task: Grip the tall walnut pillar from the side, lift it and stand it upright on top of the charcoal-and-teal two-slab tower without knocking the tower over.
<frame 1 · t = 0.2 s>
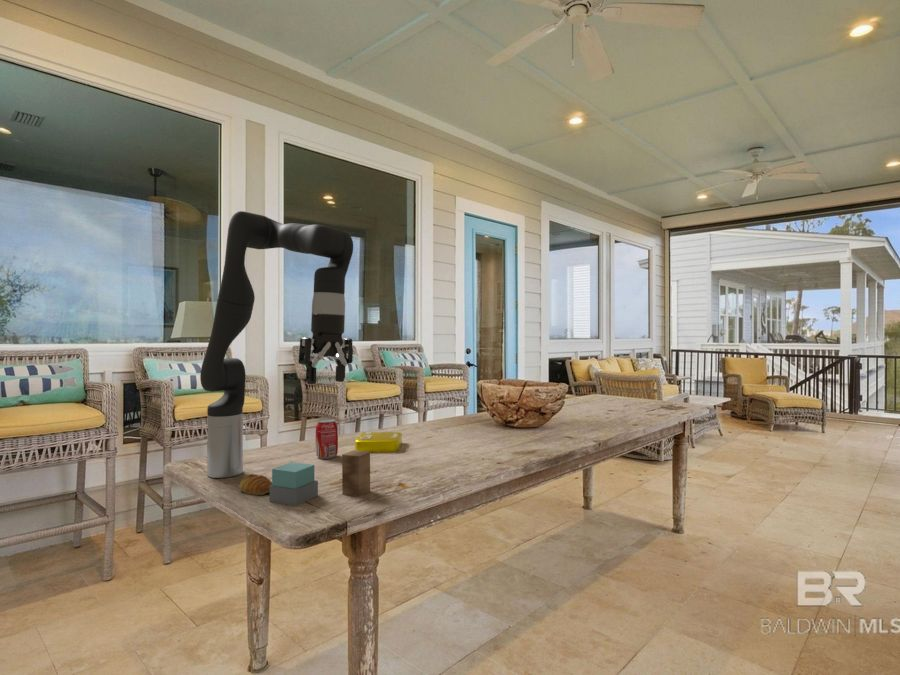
hand: (325, 382, 114), 29 cm above the table, tool pointing down, fingers open, 8 cm apart
tower base slab: (294, 499, 120), on the table
tower top slab: (293, 483, 120), point 4 cm above the table
soda can: (326, 457, 160), on the table
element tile: (379, 449, 174), on the table
walnut pillar: (356, 492, 124), on the table
pastry: (257, 491, 126), on the table
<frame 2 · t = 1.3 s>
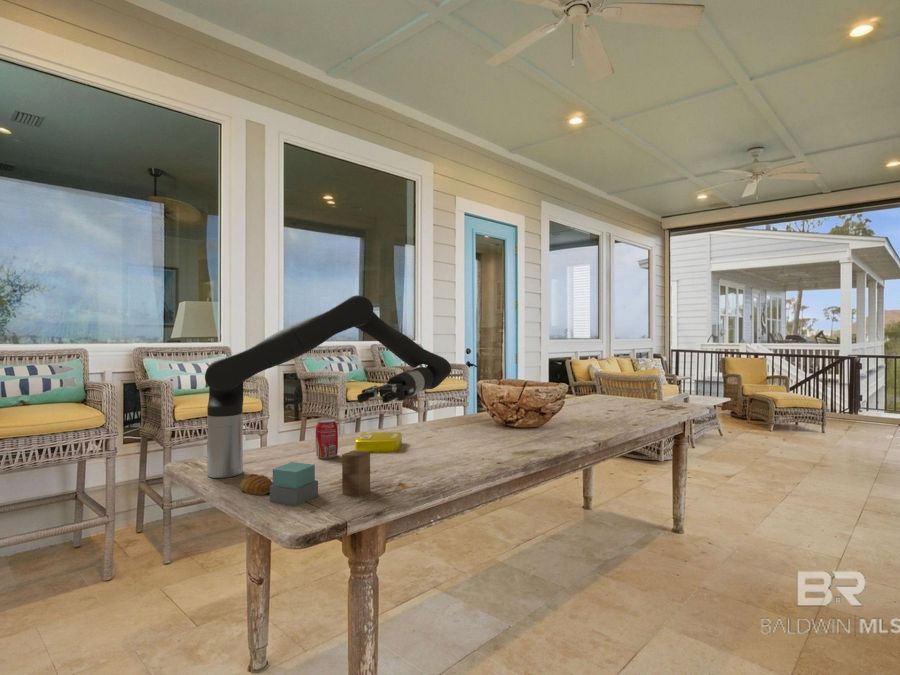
hand: (370, 399, 129), 23 cm above the table, tool horizontal, fingers open, 8 cm apart
tower base slab: (294, 499, 120), on the table, touching tower top slab
tower top slab: (294, 483, 120), point 4 cm above the table, touching tower base slab
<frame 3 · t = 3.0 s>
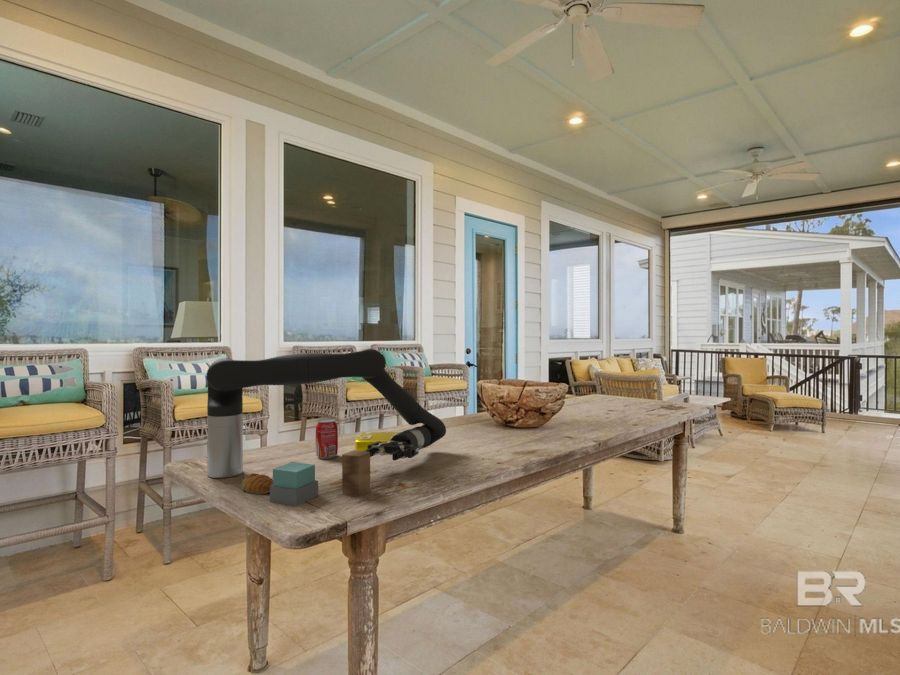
hand: (380, 455, 134), 7 cm above the table, tool horizontal, fingers open, 8 cm apart
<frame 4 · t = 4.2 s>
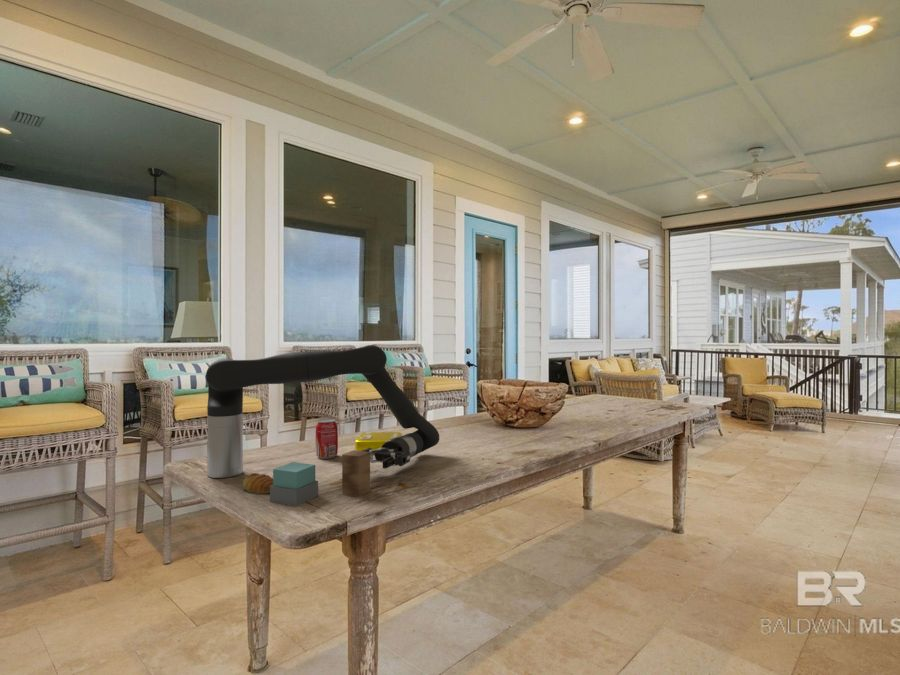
hand: (369, 463, 130), 6 cm above the table, tool horizontal, fingers open, 8 cm apart
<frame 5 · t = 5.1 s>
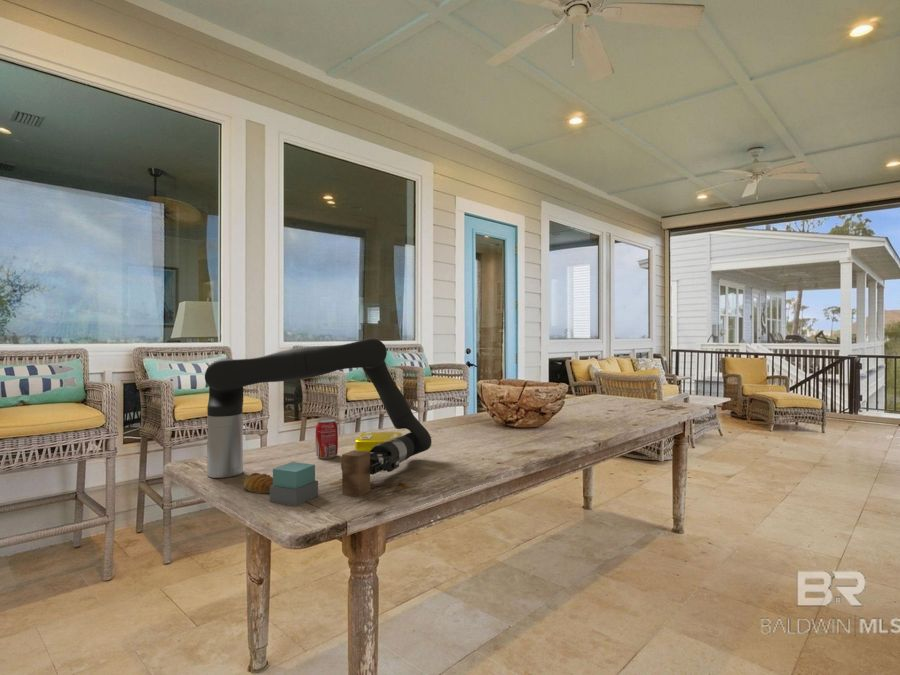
hand: (356, 468, 124), 6 cm above the table, tool horizontal, fingers open, 8 cm apart
tower base slab: (294, 499, 120), on the table
tower top slab: (294, 483, 120), point 4 cm above the table
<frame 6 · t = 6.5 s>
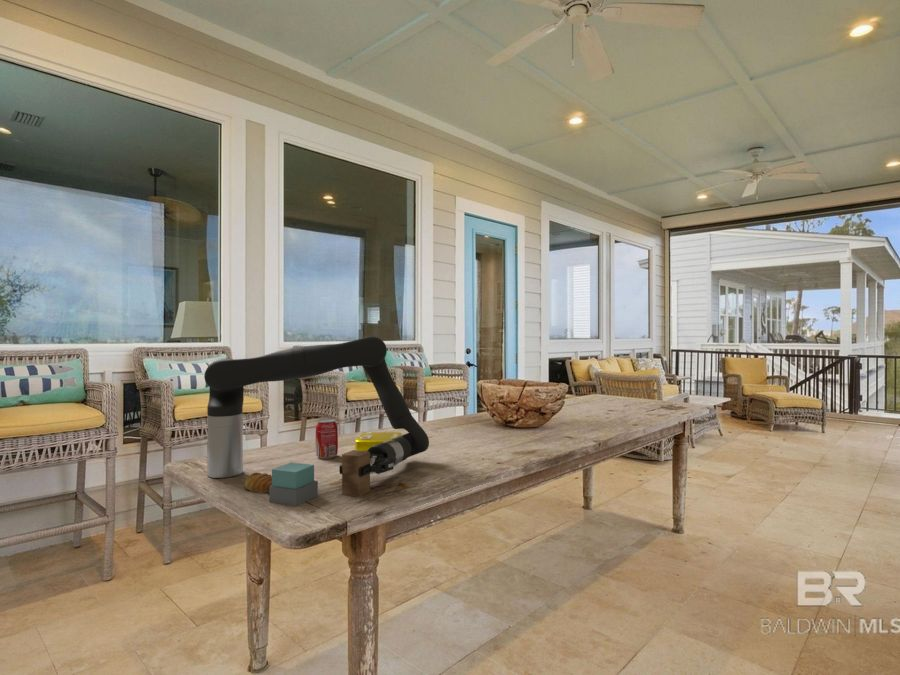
hand: (350, 471, 122), 6 cm above the table, tool horizontal, fingers closed on walnut pillar, 5 cm apart
tower base slab: (294, 499, 120), on the table, touching tower top slab
tower top slab: (293, 483, 120), point 4 cm above the table, touching tower base slab
walnut pillar: (356, 492, 124), on the table, touching gripper
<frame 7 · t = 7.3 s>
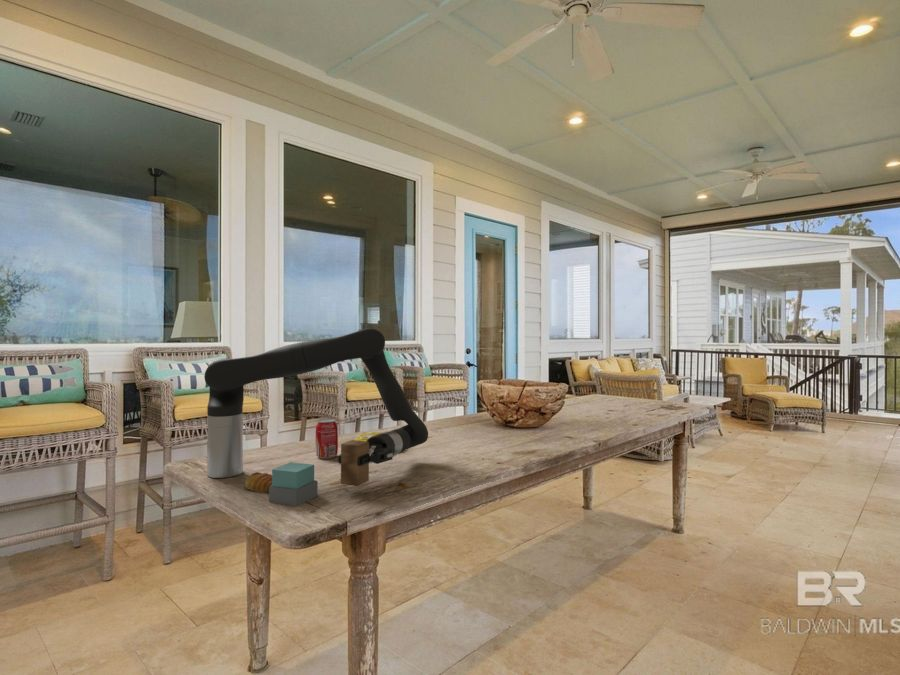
hand: (349, 460, 121), 9 cm above the table, tool horizontal, fingers closed on walnut pillar, 5 cm apart
tower base slab: (293, 499, 120), on the table
tower top slab: (293, 483, 119), point 4 cm above the table
walnut pillar: (354, 482, 124), point 3 cm above the table, touching gripper
when the fingers open (15 cm above the table, at t = 11.0 s): walnut pillar drops 2 cm, resting on tower top slab.
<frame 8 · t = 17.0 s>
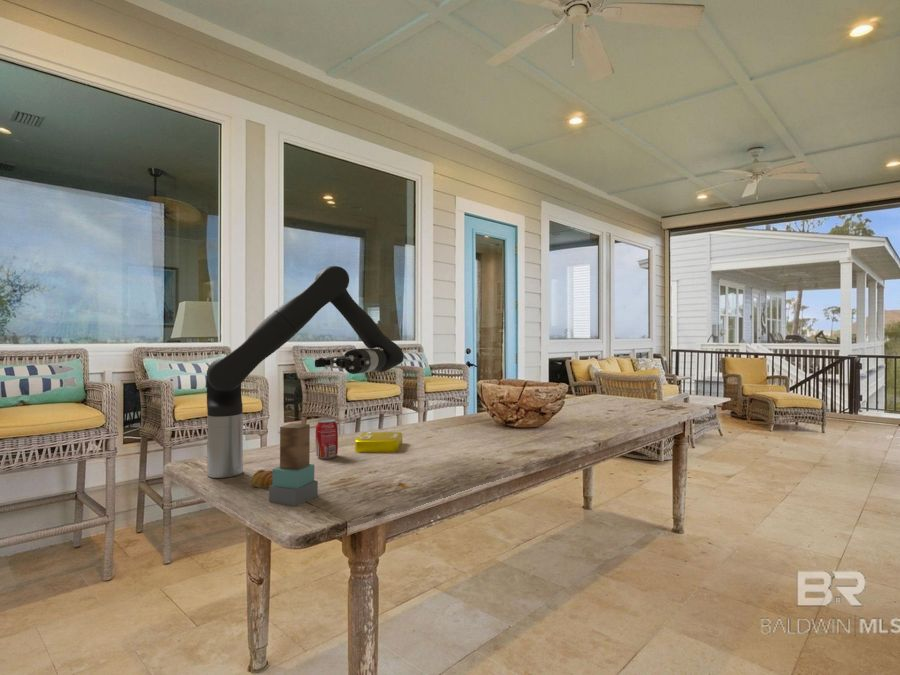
hand: (328, 363, 135), 32 cm above the table, tool horizontal, fingers open, 8 cm apart
tower base slab: (293, 499, 120), on the table, touching tower top slab
tower top slab: (293, 483, 120), point 4 cm above the table, touching tower base slab, walnut pillar
walnut pillar: (294, 466, 120), point 8 cm above the table, touching tower top slab
pastry: (269, 486, 131), on the table
everything else where it was.
at the end: walnut pillar 0.4 cm off-centre on the tower top slab, point 4.0 cm above the tower top slab's base; walnut pillar tilted 1°; tower top slab 0.2 cm off-centre on the tower base slab, point 4.0 cm above the tower base slab's base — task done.
